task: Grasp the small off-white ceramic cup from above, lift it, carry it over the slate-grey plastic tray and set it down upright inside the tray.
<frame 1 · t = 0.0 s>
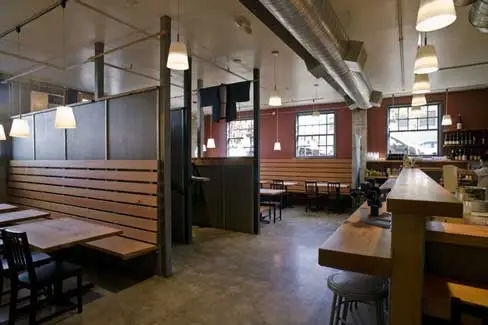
hand: (356, 195, 205), 17 cm above the bar counter, tool horizontal, fingers open, 9 cm apart
ceramic cup: (363, 220, 207), on the bar counter
tray: (382, 224, 198), on the bar counter
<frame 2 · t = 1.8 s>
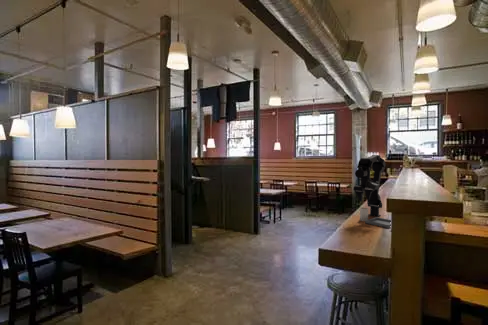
hand: (364, 200, 206), 13 cm above the bar counter, tool pointing down, fingers open, 9 cm apart
nothing on the bar counter moved.
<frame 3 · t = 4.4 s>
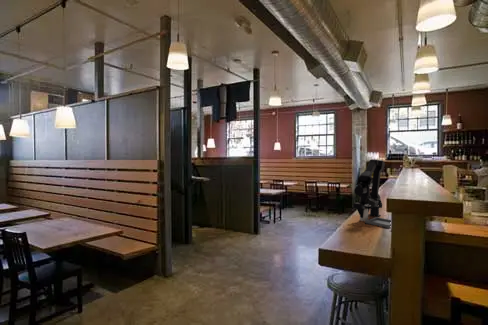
hand: (363, 217, 207), 2 cm above the bar counter, tool pointing down, fingers closed on ceramic cup, 5 cm apart
ceramic cup: (363, 220, 207), on the bar counter, touching gripper
everything else where it was.
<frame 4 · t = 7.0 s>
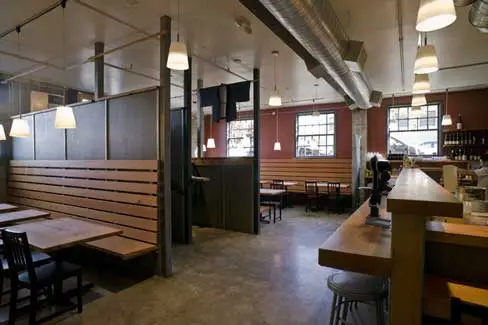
hand: (381, 204, 198), 12 cm above the bar counter, tool pointing down, fingers closed on ceramic cup, 5 cm apart
ceramic cup: (381, 207, 198), point 10 cm above the bar counter, touching gripper
everything else where it was.
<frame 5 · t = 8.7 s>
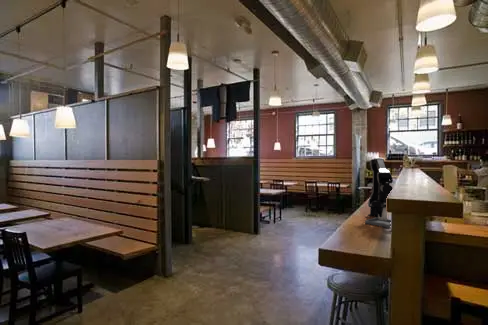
hand: (382, 216, 197), 5 cm above the bar counter, tool pointing down, fingers closed on ceramic cup, 5 cm apart
ceramic cup: (382, 219, 197), point 3 cm above the bar counter, touching gripper
everything else where it was.
when the fingers open (3 cm above the bar counter, at t = 9.9 s): ceramic cup stays where it is, resting on tray.
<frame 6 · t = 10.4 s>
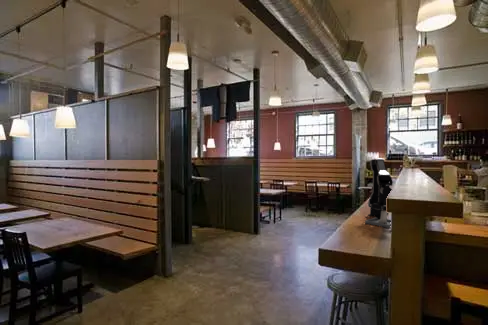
hand: (382, 218, 197), 3 cm above the bar counter, tool pointing down, fingers open, 9 cm apart
ceramic cup: (382, 223, 198), point 1 cm above the bar counter, touching tray
everything else where it was.
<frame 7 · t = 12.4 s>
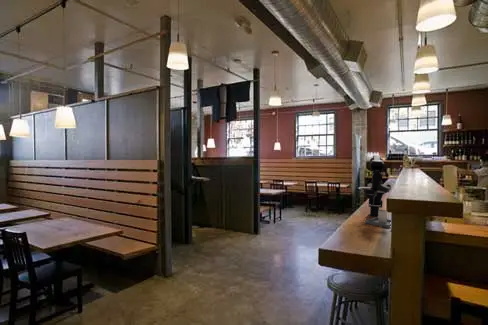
hand: (375, 203, 203), 12 cm above the bar counter, tool pointing down, fingers open, 9 cm apart
nothing on the bar counter moved.
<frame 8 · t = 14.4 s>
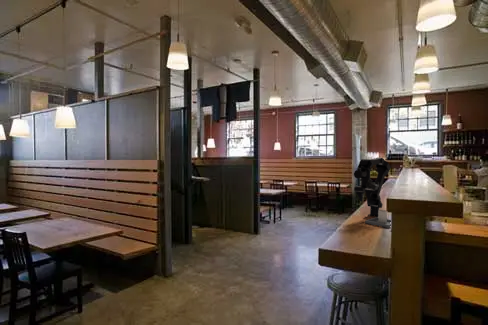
hand: (364, 200, 213), 12 cm above the bar counter, tool pointing down, fingers open, 9 cm apart
nothing on the bar counter moved.
at the end: ceramic cup inside the target area on the tray (0.0 cm from its centre), point 0.6 cm above the tray's base; ceramic cup tilted 0°; the gripper is holding nothing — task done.
